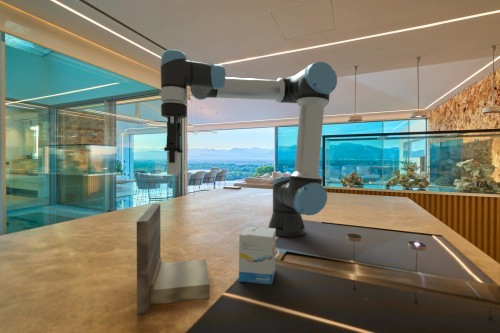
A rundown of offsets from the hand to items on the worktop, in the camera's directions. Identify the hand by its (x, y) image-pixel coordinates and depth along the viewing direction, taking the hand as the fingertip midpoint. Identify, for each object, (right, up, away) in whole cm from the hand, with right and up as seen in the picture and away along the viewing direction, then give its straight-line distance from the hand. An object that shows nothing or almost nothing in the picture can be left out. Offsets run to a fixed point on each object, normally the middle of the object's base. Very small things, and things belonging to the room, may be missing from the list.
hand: (174, 173), depth 77 cm
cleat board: (+6, -26, -18) cm, 32 cm away
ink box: (+25, -26, -12) cm, 39 cm away
